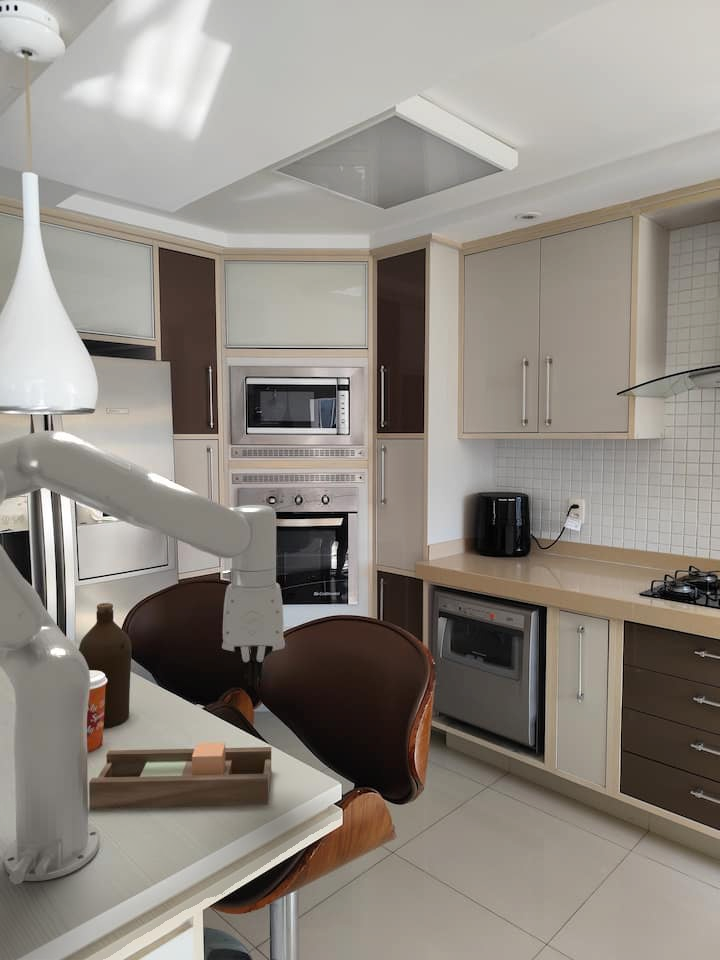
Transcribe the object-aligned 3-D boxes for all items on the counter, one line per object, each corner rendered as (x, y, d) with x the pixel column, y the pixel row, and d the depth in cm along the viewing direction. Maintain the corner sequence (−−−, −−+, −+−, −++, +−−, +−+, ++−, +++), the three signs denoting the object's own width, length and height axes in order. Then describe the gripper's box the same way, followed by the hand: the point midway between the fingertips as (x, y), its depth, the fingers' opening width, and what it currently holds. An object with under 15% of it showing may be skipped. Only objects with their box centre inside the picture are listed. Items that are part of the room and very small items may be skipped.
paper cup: (93, 757, 126) (92, 685, 125) (57, 752, 127) (56, 681, 126) (116, 738, 133) (115, 670, 132) (82, 734, 135) (81, 667, 134)
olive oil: (137, 708, 148) (137, 598, 146) (124, 730, 137) (123, 611, 136) (88, 709, 147) (87, 598, 145) (71, 730, 137) (69, 611, 135)
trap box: (267, 804, 111) (267, 778, 111) (89, 809, 109) (89, 782, 108) (271, 770, 122) (271, 747, 122) (109, 774, 120) (109, 750, 119)
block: (221, 778, 113) (221, 756, 113) (191, 779, 113) (191, 756, 112) (225, 764, 118) (225, 742, 118) (196, 764, 118) (196, 742, 117)
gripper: (206, 582, 109) (206, 691, 111) (297, 582, 110) (296, 689, 112) (212, 573, 117) (212, 674, 118) (297, 572, 118) (297, 673, 119)
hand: (253, 681), depth 115 cm, fingers closed
